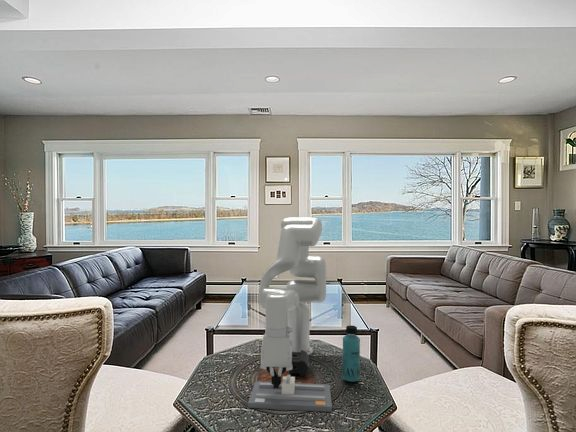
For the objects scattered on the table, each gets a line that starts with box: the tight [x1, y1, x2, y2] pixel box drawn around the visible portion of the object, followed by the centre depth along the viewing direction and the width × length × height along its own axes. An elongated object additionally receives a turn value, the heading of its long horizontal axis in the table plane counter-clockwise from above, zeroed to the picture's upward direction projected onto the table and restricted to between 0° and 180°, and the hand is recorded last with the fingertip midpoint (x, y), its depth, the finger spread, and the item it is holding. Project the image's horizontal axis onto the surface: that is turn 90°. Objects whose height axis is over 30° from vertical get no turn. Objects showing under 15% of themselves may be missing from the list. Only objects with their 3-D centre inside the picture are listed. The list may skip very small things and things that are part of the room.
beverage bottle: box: [341, 325, 361, 382], centre depth 125 cm, size 6×7×20 cm
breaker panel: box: [247, 381, 333, 413], centre depth 114 cm, size 14×26×2 cm, turn 86°
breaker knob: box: [281, 374, 296, 395], centre depth 114 cm, size 5×4×5 cm
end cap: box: [288, 350, 310, 378], centre depth 133 cm, size 10×7×7 cm
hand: (276, 386), depth 114 cm, fingers closed
